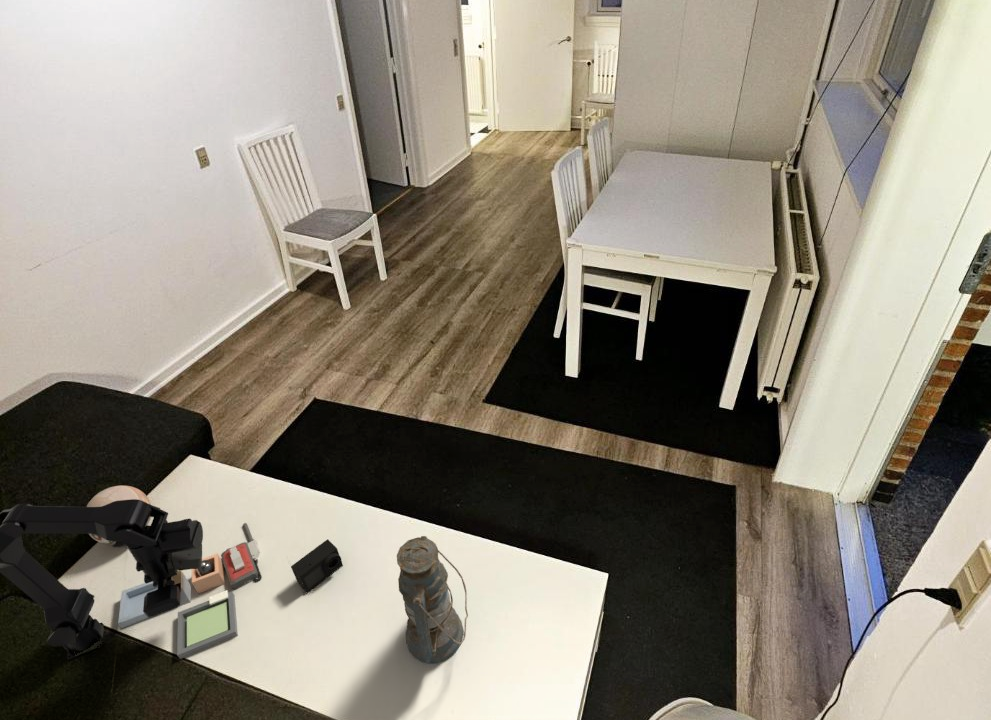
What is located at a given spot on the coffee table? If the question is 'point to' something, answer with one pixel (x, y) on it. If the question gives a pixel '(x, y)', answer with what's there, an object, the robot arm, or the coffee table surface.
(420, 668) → the coffee table surface
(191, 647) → the checker frame
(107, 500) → the ornament
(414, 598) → the lantern
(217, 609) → the light green square plate
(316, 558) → the digital camera
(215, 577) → the cup
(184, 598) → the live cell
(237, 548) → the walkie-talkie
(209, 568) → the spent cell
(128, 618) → the tray
